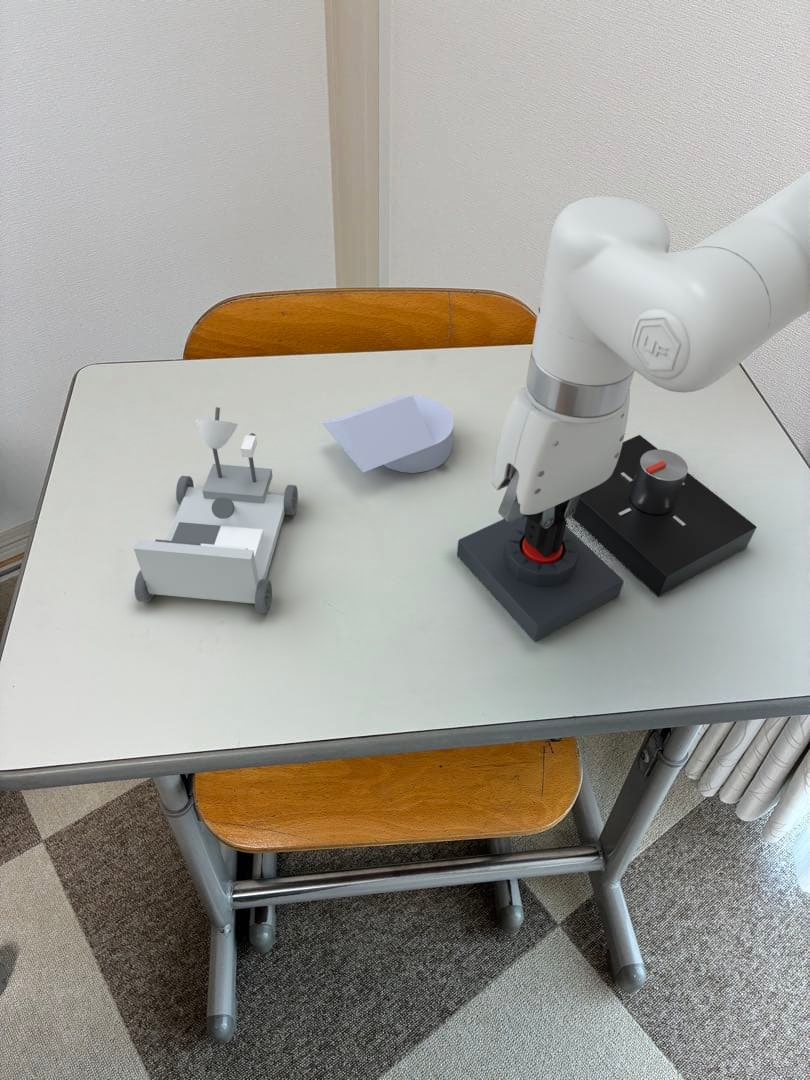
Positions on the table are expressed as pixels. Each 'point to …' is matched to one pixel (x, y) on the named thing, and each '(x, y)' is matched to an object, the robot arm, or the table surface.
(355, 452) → the wedge on round base
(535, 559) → the button
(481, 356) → the table surface
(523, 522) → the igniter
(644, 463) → the burner knob
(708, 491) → the stove panel
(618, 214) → the robot arm
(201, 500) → the toy car
